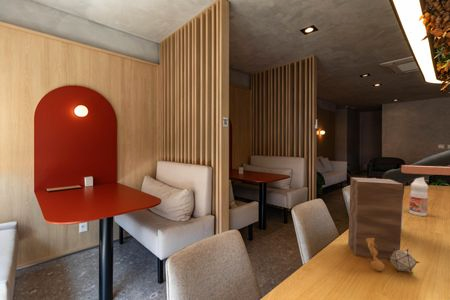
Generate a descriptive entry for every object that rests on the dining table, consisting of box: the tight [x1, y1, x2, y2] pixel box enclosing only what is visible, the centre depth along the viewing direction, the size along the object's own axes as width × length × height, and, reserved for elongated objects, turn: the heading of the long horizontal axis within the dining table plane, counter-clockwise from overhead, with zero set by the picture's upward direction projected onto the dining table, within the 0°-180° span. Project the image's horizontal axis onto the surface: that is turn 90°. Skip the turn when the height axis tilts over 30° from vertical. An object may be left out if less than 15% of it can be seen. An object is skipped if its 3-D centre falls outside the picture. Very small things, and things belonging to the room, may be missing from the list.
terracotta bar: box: [400, 164, 450, 176], centre depth 93 cm, size 4×22×3 cm, turn 75°
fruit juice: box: [408, 177, 429, 217], centre depth 154 cm, size 9×9×28 cm
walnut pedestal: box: [347, 176, 404, 262], centre depth 99 cm, size 12×16×32 cm
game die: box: [387, 248, 421, 274], centre depth 85 cm, size 9×8×10 cm
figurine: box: [366, 238, 385, 272], centre depth 86 cm, size 8×6×12 cm
